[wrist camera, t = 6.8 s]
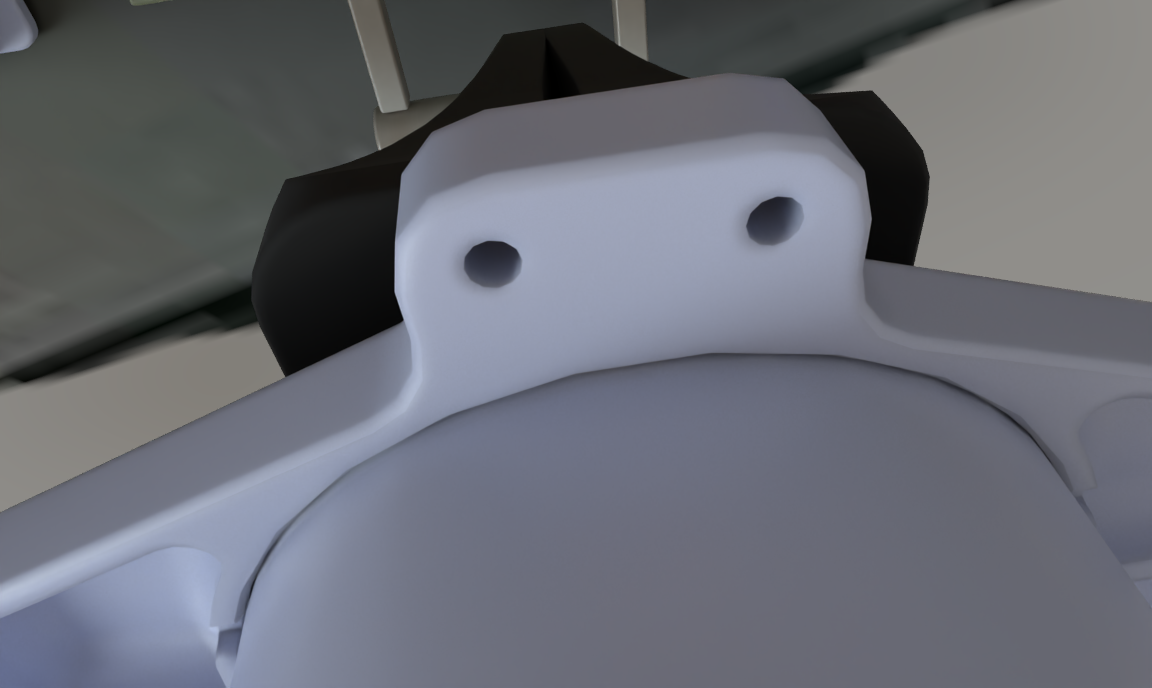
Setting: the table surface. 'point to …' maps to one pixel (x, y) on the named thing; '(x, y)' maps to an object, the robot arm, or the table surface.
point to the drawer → (408, 116)
